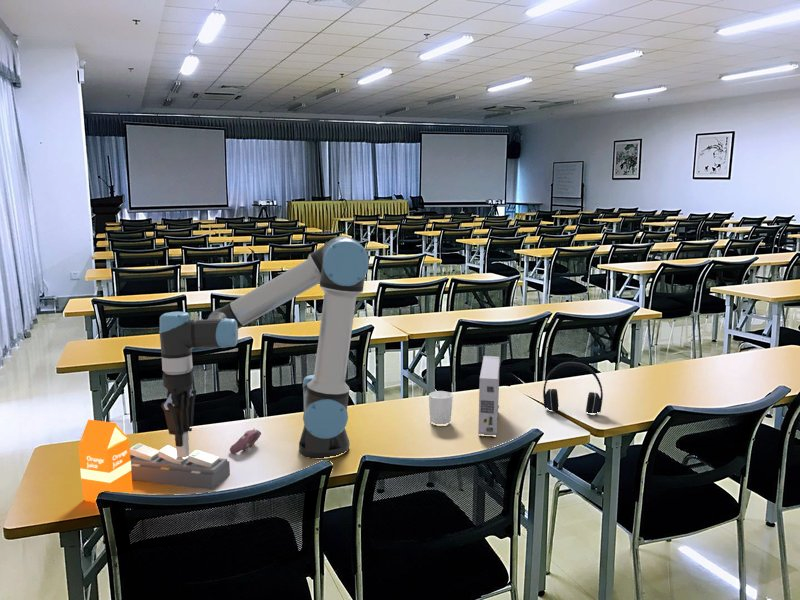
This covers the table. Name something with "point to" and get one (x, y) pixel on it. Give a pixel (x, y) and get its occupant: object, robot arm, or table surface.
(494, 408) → the game console
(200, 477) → the power strip
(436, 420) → the white cup
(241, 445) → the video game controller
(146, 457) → the rocker
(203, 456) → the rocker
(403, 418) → the table surface
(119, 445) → the orange juice
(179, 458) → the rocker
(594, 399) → the headphones
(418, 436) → the table surface
